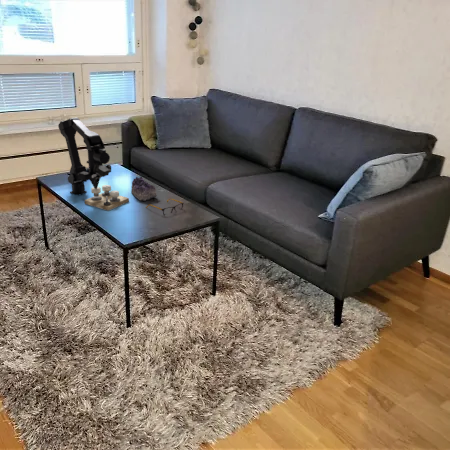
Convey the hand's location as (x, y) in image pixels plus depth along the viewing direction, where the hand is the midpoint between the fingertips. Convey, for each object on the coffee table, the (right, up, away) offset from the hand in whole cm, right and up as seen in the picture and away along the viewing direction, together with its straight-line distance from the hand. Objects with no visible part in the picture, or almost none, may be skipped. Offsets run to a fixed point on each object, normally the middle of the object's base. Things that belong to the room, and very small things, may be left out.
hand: (95, 188), depth 238 cm
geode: (+21, -3, +17) cm, 27 cm away
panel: (+5, -7, +4) cm, 10 cm away
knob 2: (+4, -2, +9) cm, 10 cm away
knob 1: (0, -4, +2) cm, 4 cm away
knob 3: (+10, -6, +2) cm, 11 cm away
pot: (+7, -9, -4) cm, 12 cm away
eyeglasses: (+36, -11, +1) cm, 38 cm away
